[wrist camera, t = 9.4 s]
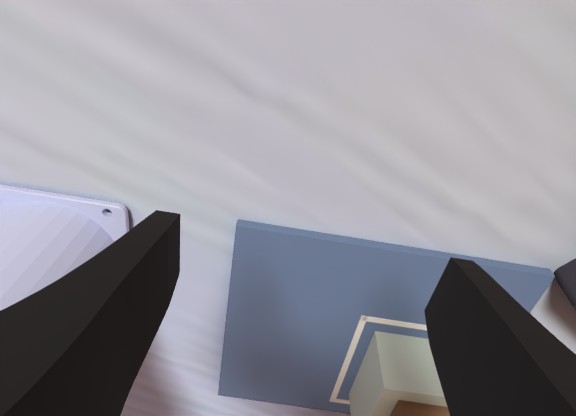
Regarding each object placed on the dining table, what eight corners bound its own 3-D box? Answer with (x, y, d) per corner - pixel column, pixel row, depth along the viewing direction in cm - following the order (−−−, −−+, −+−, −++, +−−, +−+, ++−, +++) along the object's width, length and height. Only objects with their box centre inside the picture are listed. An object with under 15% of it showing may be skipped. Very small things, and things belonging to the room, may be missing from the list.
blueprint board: (219, 387, 31) (217, 395, 30) (237, 219, 22) (235, 226, 22) (446, 419, 32) (448, 428, 31) (549, 269, 23) (555, 277, 22)
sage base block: (348, 393, 29) (353, 451, 26) (375, 330, 26) (384, 388, 22) (441, 407, 30) (457, 465, 26) (480, 346, 26) (505, 406, 23)
